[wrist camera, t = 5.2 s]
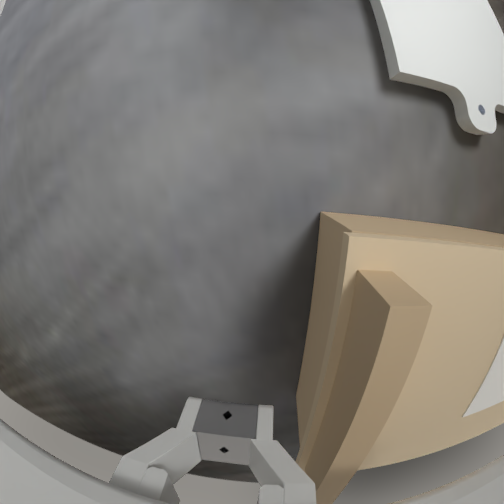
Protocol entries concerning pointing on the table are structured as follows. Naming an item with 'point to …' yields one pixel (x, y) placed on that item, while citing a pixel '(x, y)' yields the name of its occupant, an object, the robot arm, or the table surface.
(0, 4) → the stack of papers
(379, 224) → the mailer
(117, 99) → the table surface
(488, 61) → the mounting plate
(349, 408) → the lid
